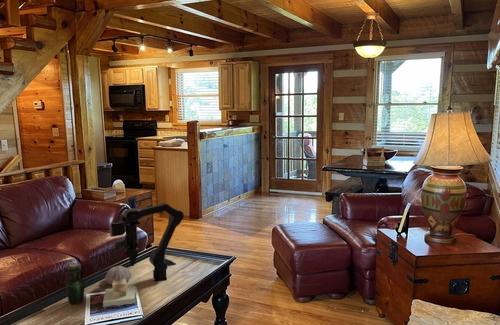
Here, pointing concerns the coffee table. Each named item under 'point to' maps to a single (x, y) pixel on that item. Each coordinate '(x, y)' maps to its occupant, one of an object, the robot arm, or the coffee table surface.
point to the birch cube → (119, 287)
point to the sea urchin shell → (117, 274)
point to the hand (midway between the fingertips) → (132, 262)
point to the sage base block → (119, 300)
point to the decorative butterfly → (168, 261)
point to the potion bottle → (75, 285)
